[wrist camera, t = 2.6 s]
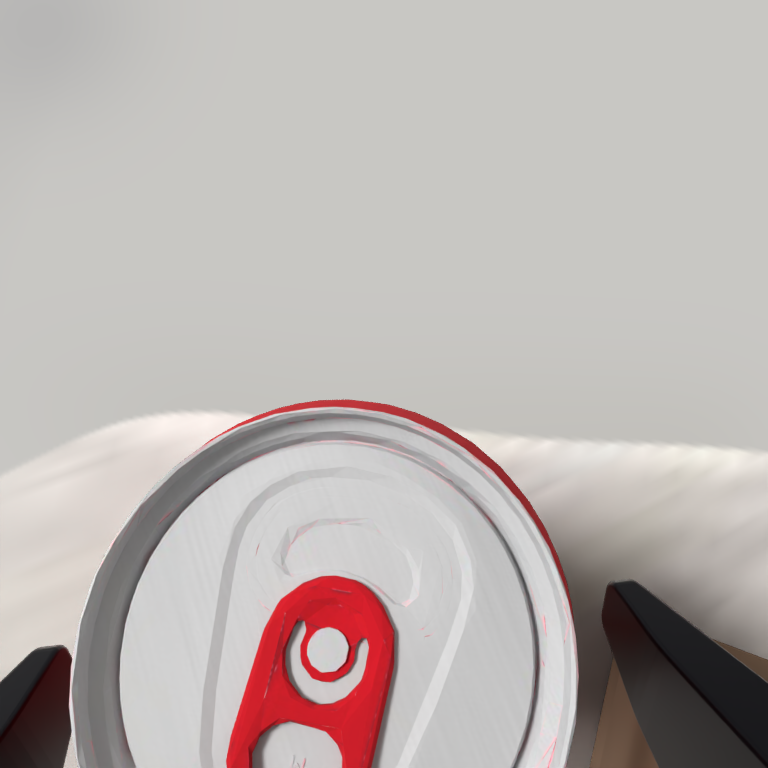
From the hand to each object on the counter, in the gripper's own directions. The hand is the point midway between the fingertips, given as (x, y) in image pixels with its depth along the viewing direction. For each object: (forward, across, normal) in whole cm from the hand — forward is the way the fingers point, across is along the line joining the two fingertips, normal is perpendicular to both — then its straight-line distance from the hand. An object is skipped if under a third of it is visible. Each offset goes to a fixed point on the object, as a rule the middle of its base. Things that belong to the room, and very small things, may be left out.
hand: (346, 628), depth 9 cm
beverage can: (+6, 0, +6) cm, 8 cm away
